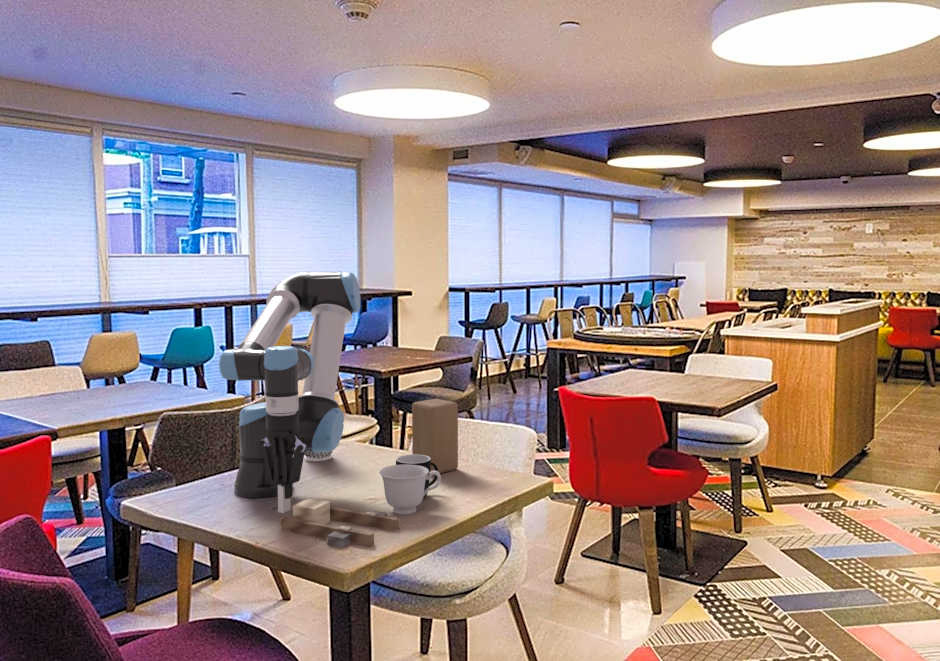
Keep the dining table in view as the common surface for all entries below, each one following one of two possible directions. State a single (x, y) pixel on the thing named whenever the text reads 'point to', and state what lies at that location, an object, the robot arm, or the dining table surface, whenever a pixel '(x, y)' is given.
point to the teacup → (406, 486)
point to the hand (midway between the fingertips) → (284, 510)
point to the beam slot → (343, 533)
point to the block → (436, 432)
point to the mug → (421, 461)
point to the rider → (312, 510)
